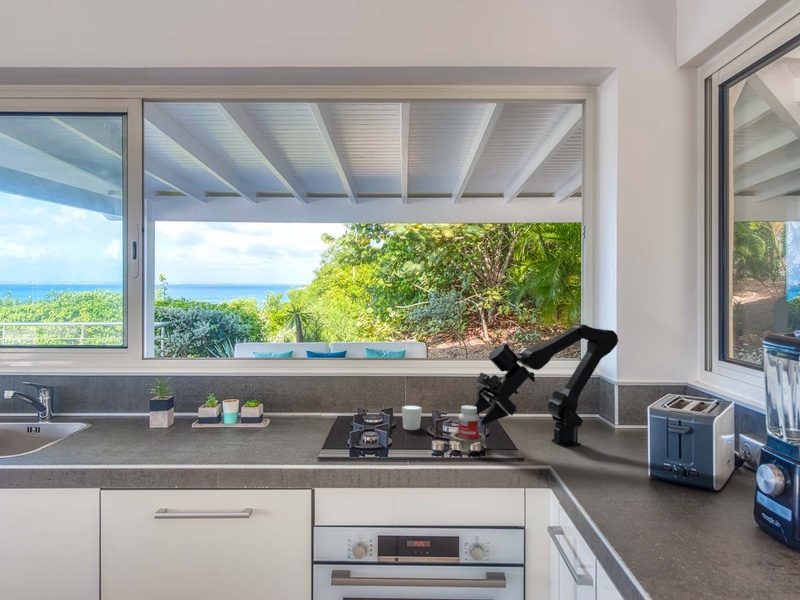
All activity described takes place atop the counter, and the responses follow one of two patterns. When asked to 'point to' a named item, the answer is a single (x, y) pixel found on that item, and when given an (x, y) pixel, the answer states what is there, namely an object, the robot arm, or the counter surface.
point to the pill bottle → (468, 423)
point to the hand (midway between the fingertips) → (476, 419)
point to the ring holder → (467, 441)
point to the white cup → (411, 417)
